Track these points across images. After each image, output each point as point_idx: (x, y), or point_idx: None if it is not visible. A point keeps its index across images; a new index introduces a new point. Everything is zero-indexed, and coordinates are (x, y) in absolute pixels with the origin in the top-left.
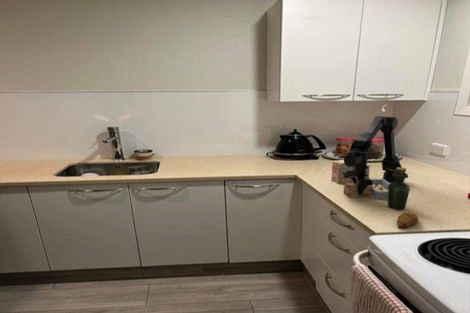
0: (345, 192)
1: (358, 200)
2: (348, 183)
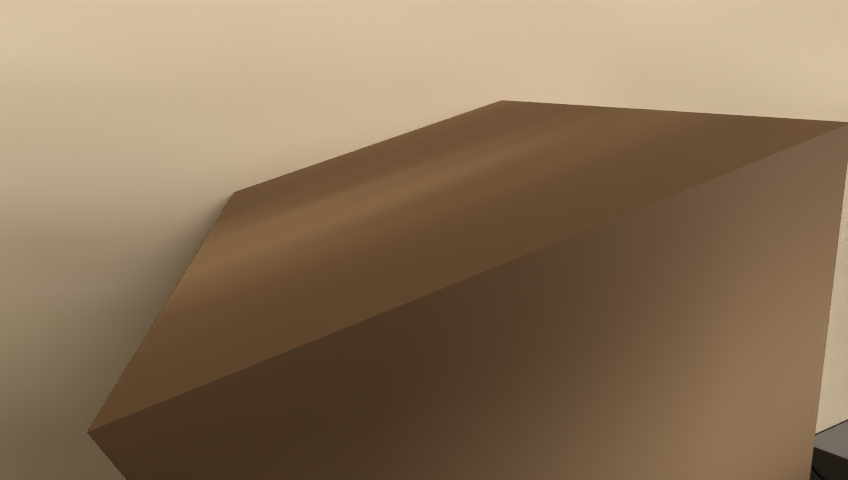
0: (405, 149)
1: (84, 447)
2: (794, 358)
